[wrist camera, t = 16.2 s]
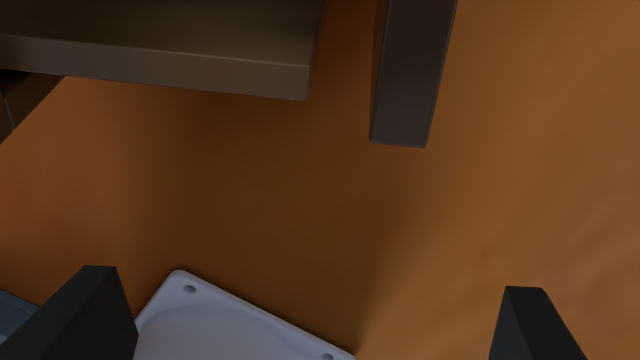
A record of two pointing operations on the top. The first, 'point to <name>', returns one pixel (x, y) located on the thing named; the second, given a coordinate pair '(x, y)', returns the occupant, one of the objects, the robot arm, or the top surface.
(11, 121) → the cabinet
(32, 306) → the tray
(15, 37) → the drawer
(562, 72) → the top surface
